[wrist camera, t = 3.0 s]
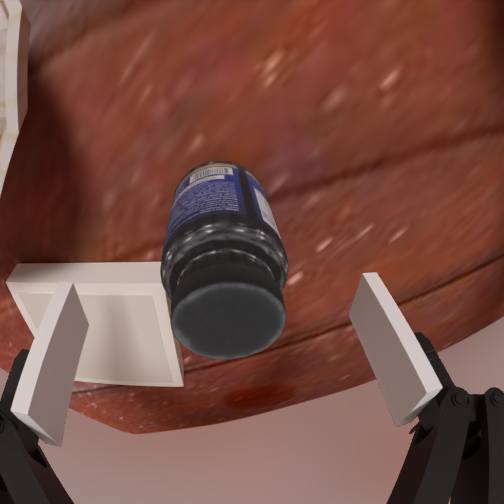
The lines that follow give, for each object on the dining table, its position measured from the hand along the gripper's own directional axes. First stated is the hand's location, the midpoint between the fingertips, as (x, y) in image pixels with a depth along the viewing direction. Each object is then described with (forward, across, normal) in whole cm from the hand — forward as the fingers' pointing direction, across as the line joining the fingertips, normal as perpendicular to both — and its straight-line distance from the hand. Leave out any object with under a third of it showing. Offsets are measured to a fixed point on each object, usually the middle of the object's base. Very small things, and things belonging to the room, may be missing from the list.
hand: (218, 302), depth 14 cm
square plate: (+10, -11, -12) cm, 18 cm away
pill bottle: (+10, 0, 0) cm, 10 cm away
